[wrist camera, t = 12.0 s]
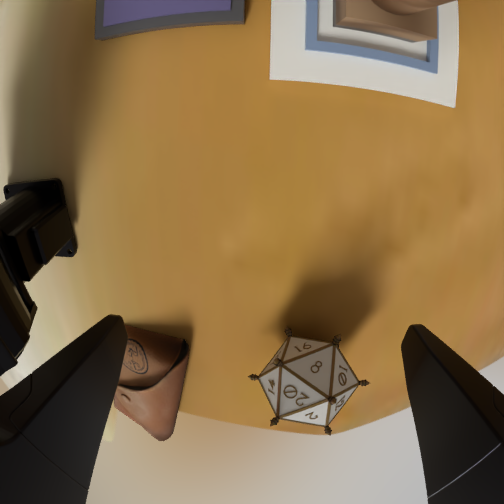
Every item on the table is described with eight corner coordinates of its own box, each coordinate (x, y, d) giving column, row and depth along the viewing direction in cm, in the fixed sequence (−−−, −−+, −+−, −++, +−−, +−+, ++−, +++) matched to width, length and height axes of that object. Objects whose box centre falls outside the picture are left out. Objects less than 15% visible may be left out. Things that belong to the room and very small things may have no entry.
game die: (283, 325, 31) (212, 393, 24) (329, 284, 24) (246, 371, 18) (343, 385, 29) (285, 461, 23) (402, 360, 23) (344, 460, 16)
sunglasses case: (102, 316, 26) (116, 375, 22) (173, 308, 30) (197, 361, 25) (114, 408, 35) (128, 452, 31) (162, 399, 39) (180, 440, 34)
